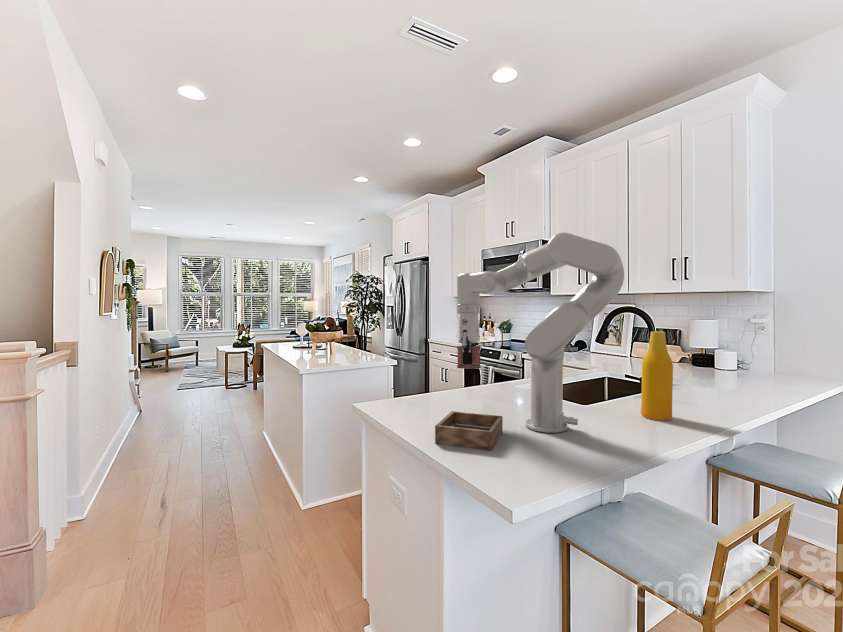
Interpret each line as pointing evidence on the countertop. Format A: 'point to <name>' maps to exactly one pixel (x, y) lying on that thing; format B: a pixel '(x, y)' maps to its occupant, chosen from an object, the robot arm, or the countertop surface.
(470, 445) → the walnut box
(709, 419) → the countertop surface
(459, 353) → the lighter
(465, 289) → the robot arm
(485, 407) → the countertop surface
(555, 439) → the countertop surface
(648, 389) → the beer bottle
